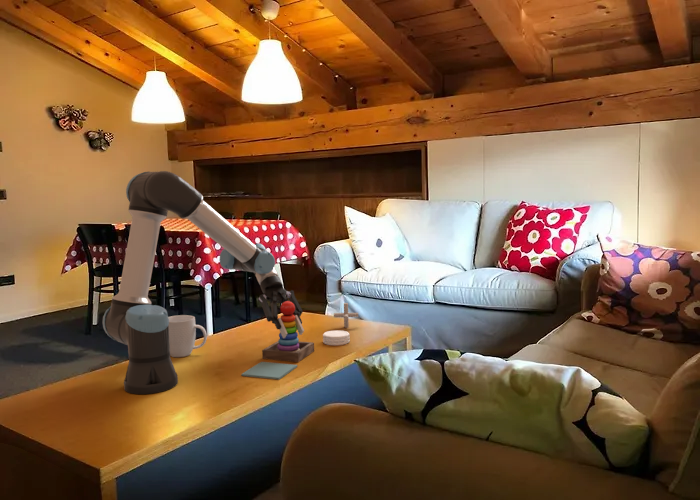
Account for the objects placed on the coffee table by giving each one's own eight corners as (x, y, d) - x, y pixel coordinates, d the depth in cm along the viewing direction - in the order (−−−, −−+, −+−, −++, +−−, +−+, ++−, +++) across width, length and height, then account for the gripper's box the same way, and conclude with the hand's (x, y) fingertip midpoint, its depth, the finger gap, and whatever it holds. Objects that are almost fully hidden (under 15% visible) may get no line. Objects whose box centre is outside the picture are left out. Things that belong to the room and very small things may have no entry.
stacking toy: (299, 357, 198) (296, 303, 195) (275, 358, 198) (273, 304, 195) (301, 350, 205) (299, 298, 203) (278, 351, 206) (276, 299, 203)
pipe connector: (358, 330, 234) (357, 305, 233) (333, 330, 234) (333, 306, 233) (358, 324, 244) (358, 300, 243) (334, 324, 244) (334, 301, 243)
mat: (279, 379, 176) (279, 377, 176) (241, 375, 180) (241, 373, 180) (297, 366, 188) (297, 364, 188) (261, 363, 192) (261, 361, 192)
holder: (298, 361, 193) (298, 353, 193) (262, 358, 198) (262, 350, 197) (314, 350, 206) (314, 342, 205) (280, 348, 210) (279, 339, 210)
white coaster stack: (333, 337, 224) (333, 328, 224) (354, 341, 218) (354, 331, 218) (317, 343, 216) (317, 334, 215) (339, 347, 210) (339, 338, 210)
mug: (210, 349, 210) (209, 314, 209) (204, 358, 199) (202, 321, 198) (169, 350, 210) (167, 315, 208) (160, 359, 199) (158, 322, 197)
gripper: (288, 284, 217) (313, 335, 206) (242, 290, 206) (265, 345, 195) (295, 271, 212) (321, 323, 201) (248, 277, 201) (272, 332, 190)
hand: (293, 334), depth 198 cm, fingers closed on stacking toy, 6 cm apart
